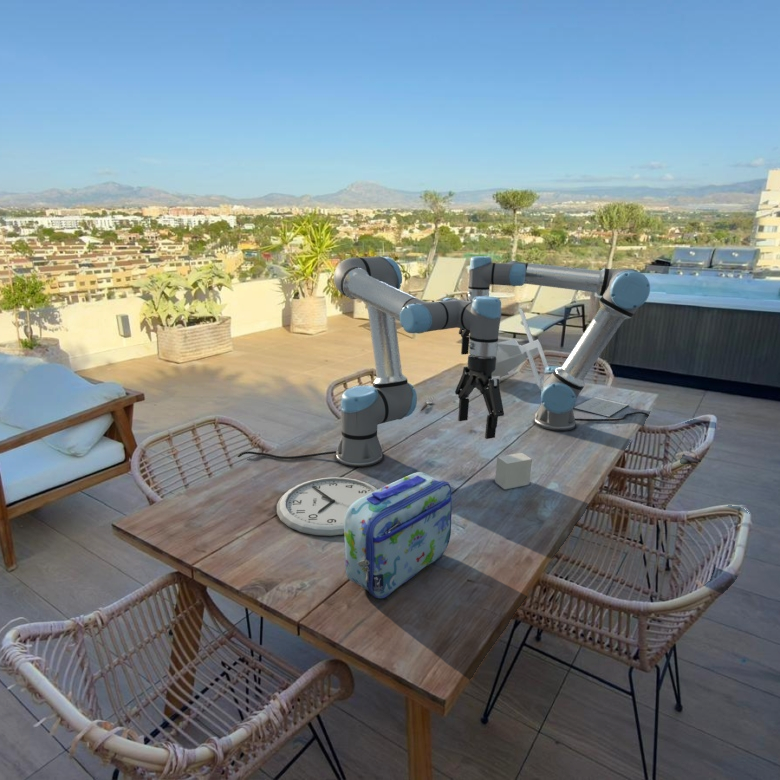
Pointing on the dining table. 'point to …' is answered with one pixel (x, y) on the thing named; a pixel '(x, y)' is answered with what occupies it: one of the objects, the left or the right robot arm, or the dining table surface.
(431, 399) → the fork
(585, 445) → the dining table surface
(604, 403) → the invitation card
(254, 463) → the dining table surface
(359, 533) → the lunch box
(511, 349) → the white plastic object
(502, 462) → the block
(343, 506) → the wall clock
